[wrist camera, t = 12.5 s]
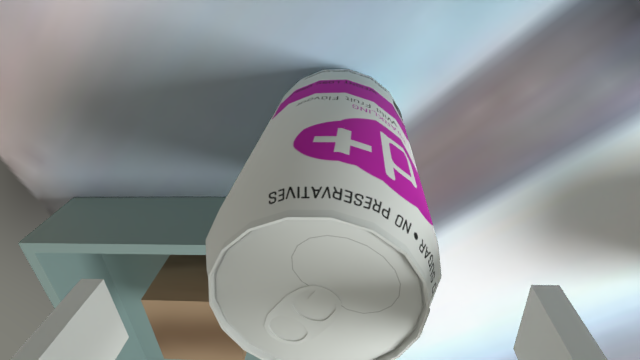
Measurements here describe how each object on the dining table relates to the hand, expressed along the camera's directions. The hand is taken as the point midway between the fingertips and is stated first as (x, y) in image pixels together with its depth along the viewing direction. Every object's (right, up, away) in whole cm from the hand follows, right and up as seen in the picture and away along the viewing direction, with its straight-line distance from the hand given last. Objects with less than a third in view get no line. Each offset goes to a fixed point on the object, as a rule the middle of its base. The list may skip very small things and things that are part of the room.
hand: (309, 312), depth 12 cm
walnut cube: (-8, -3, +19) cm, 21 cm away
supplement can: (+2, +8, +13) cm, 15 cm away
